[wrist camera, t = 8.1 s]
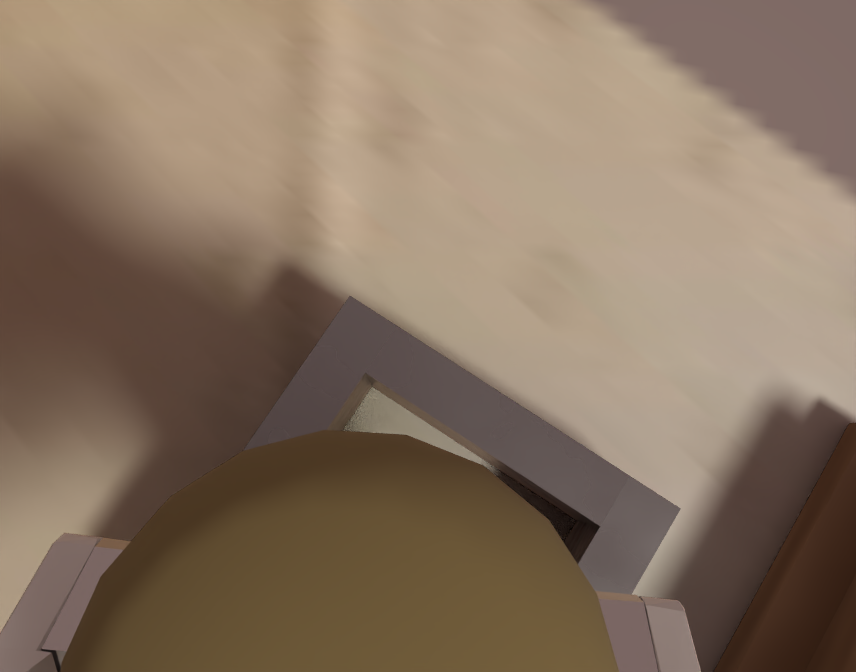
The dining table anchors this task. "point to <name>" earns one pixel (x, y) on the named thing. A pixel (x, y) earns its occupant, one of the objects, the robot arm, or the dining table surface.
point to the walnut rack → (808, 585)
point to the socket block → (476, 437)
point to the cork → (344, 571)
